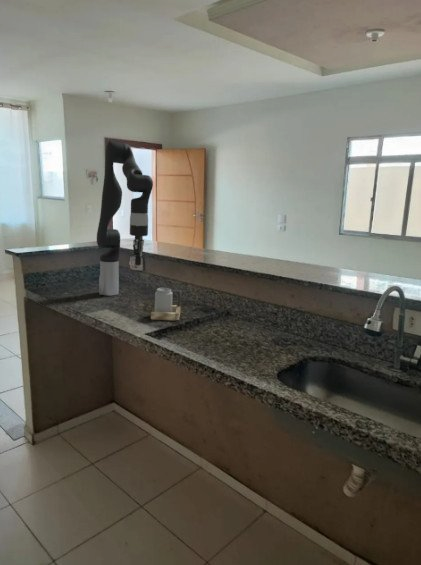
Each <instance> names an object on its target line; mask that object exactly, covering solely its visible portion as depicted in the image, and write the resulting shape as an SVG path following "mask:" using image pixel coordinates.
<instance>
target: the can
mask: <svg viewBox="0 0 421 565" xmlns="http://www.w3.org/2000/svg"><path fill="white" fill-rule="evenodd" d="M154 293H155V294H154V305H155V312H172V305H173V294H174V293H173V291H172V289H171V288H169V287H159V288H156V290H155V292H154Z"/></svg>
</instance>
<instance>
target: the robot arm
mask: <svg viewBox="0 0 421 565" xmlns="http://www.w3.org/2000/svg"><path fill="white" fill-rule="evenodd" d="M132 150H133V149H132V148H131V146H130V145H129V144H128V143H124V142H119V141H118V142H117V141H112V140H111V141H107V143H106V146H105V153H104V154H105V155H104V158H105V159H104V178H103V184H102V185H103V187H102V193H101V204H100V215H99V221H98V226H97V232H96V244H97V246H98V247H99V248H101V249H105V248H106V249H108V248H109V250H107V251H106V252H104V253H103V254H101V255H100V257H99V261H100V262H99V267H100V270H99V277H98V294H99V295H103V296H106V297H107V296H109V297H110V296H117V295H118V294H119V293H120V292H119V291H120V289H119V288H120V286H119V285H120V284H119V282H120V280H119V276H120V274H119V272H120V271H119V269H120V265H119V264H120V262H119V261H120V260H119V259H120V253H121V234H120V230H118V229H115V228H110V229H109V225H110V223H111V220H112V219H113V217H114V216H115V215H116V214H117V212H118V211H119V210H120V209H121V205H122V200H123V199H122V198H123V190H122V188H121V185H120V183H119V181H118V178H117V175H115V171H114V164H122V166H121V169H122V173H123V175H124V176H125V178H126V187H127V190H129V192H132V193H142V194H141V195H140V196H138V197H135V198H132V199H131V200H130V214H129V215H130V216H129V235H130V236H132V237H133V236H134V239H133V240H132V243H133V244H132V248H133V255H134V257H135V259H134V261H135V262H134V263H135V264H134V265H136V266H141V265H142V256H143V251H144V243H145V239H144V238H143V237H147V236H148V234H149V215H148V213H149V210H148V209H149V201H150V197H151V195H152V194H151V193H152V191H153V186H154V181H153V179H152V177H151V176H150V175H148V174H143V171H142V170H141V168H140V167H139V165H138V164H137V162H136V159H135V157H134V156H135V155H134V152H133V151H132Z"/></svg>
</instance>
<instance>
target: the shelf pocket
mask: <svg viewBox="0 0 421 565" xmlns="http://www.w3.org/2000/svg"><path fill="white" fill-rule="evenodd" d="M172 293H173V294H177V303H176V304H177V305H176V304H174V305H173V304H172V312H155V304H154V305H153V306H154V310H153V311H151V312H150V319H151V320H154V321H155V320H161V321H177V320H180V316H181V310H182V290H181V289H180V290H178V289H177V290H175V289H174V290H173V289H172ZM177 322H178V321H177Z"/></svg>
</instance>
